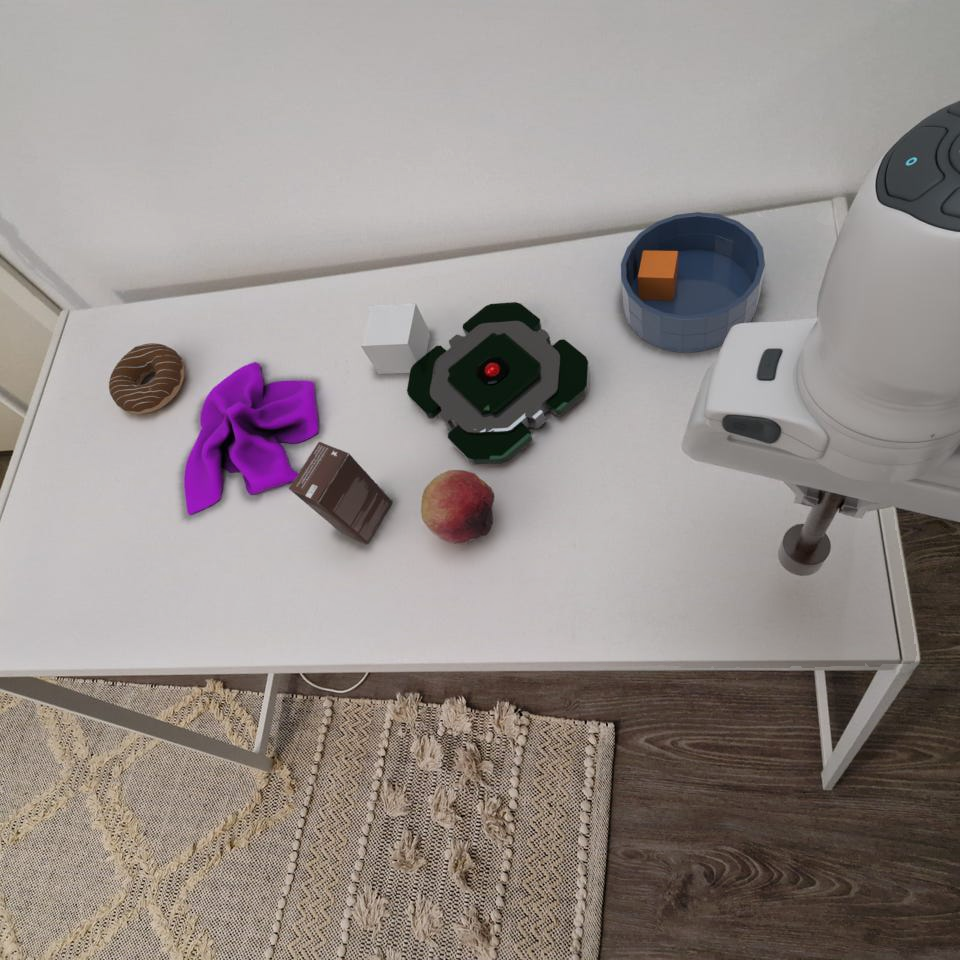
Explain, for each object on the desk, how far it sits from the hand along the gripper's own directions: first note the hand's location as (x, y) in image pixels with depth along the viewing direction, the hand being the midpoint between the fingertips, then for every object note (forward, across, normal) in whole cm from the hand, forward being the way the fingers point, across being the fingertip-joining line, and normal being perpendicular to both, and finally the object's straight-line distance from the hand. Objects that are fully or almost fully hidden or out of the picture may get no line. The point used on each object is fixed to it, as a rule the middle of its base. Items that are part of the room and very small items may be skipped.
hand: (827, 501), depth 50 cm
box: (+20, +44, +6) cm, 49 cm away
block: (+19, +21, -32) cm, 42 cm away
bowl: (+19, +17, -31) cm, 40 cm away
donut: (+20, +83, -3) cm, 86 cm away
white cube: (+20, +50, -16) cm, 56 cm away
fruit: (+20, +32, +3) cm, 38 cm away
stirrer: (+12, 0, 0) cm, 12 cm away
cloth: (+20, +64, +1) cm, 67 cm away
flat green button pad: (+20, +35, -14) cm, 43 cm away
